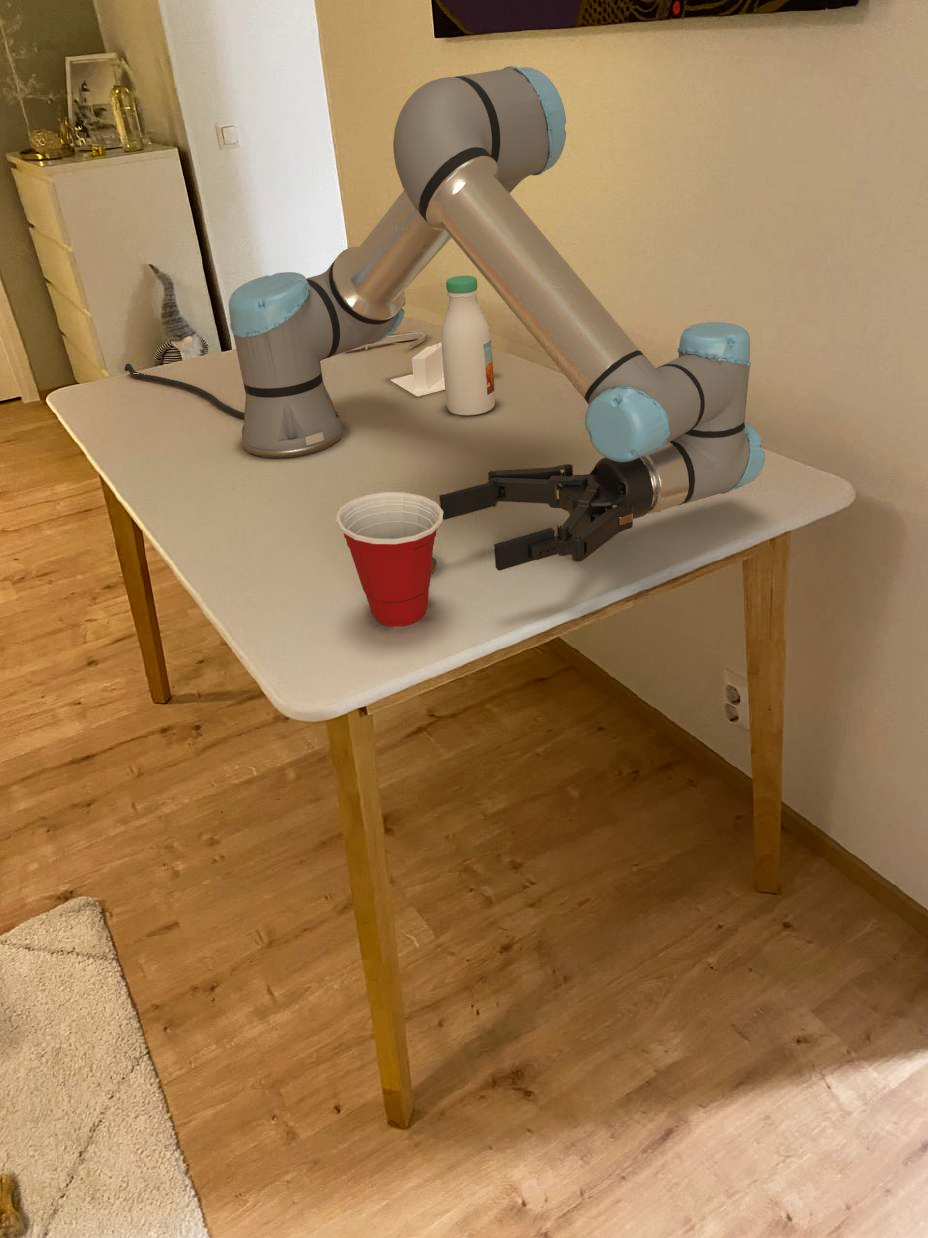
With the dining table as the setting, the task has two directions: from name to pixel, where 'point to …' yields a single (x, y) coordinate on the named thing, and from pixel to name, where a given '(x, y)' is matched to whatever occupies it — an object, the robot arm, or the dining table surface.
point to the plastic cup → (392, 551)
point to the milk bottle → (466, 351)
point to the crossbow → (401, 338)
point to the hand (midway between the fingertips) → (467, 531)
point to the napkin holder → (425, 372)
